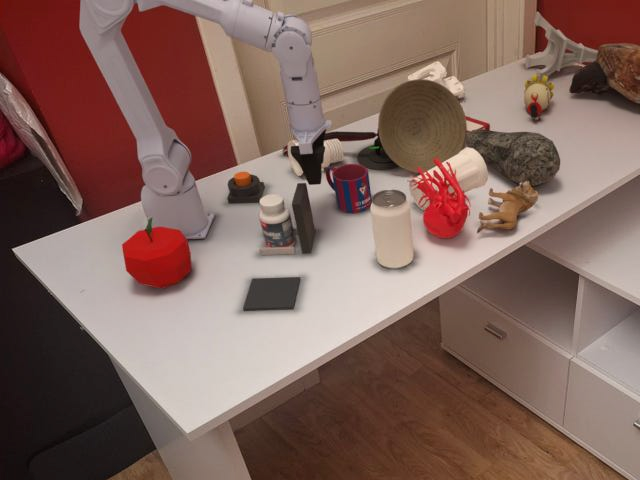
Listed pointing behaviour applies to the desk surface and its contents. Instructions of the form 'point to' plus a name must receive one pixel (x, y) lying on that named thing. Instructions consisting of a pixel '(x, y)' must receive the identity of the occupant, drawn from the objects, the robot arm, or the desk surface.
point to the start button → (242, 178)
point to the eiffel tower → (558, 51)
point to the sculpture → (611, 72)
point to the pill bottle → (276, 222)
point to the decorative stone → (517, 154)
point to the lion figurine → (509, 206)
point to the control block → (245, 191)
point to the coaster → (272, 293)
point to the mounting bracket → (440, 78)
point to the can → (392, 228)
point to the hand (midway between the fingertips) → (316, 172)
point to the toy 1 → (344, 137)
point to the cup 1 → (350, 187)
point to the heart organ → (443, 202)
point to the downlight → (330, 155)
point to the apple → (157, 256)
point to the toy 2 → (537, 95)
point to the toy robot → (376, 156)
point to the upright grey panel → (298, 224)
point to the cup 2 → (467, 174)
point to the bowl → (421, 124)
